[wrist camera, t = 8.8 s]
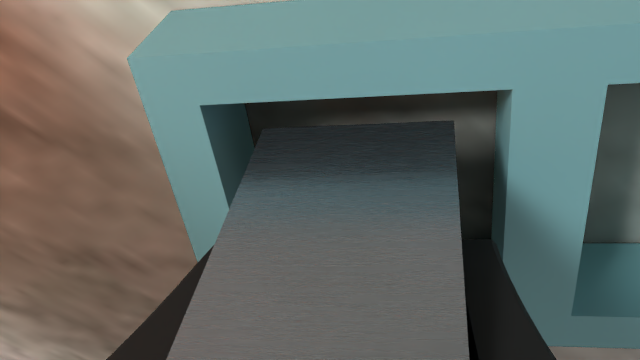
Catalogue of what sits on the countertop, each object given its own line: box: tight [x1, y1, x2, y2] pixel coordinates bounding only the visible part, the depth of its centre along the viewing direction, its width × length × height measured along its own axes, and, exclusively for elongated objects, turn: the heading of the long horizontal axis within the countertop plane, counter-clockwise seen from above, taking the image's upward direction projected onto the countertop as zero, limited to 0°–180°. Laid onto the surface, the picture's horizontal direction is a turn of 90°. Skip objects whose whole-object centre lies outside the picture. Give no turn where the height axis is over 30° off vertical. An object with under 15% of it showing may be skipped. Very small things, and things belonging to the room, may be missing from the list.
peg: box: [166, 121, 469, 360], centre depth 10 cm, size 4×4×8 cm
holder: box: [127, 0, 640, 349], centre depth 13 cm, size 15×8×2 cm, turn 98°
